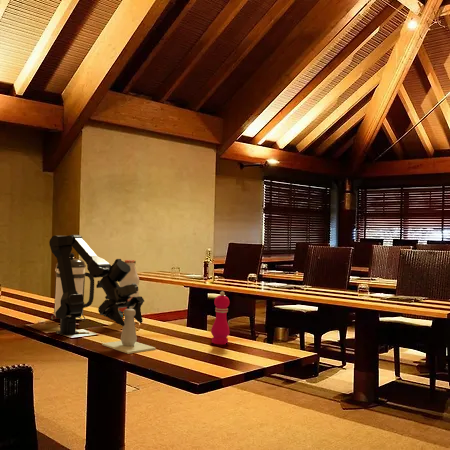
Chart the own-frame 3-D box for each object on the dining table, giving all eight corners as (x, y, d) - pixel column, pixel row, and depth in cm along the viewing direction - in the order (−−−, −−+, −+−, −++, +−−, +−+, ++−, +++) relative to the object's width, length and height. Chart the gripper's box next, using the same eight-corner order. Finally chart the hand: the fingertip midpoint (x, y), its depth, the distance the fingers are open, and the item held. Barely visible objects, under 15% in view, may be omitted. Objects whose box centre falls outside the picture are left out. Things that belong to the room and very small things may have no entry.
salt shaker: (120, 343, 197) (121, 307, 197) (135, 343, 198) (136, 307, 198) (120, 347, 191) (122, 310, 191) (137, 346, 193) (138, 310, 193)
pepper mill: (232, 342, 212) (234, 291, 212) (224, 345, 205) (227, 293, 205) (215, 340, 215) (218, 289, 215) (207, 343, 208) (210, 291, 208)
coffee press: (82, 324, 234) (86, 254, 234) (45, 321, 234) (49, 252, 234) (92, 317, 251) (96, 252, 251) (58, 315, 251) (62, 251, 252)
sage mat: (102, 344, 196) (102, 343, 196) (129, 341, 204) (129, 339, 204) (128, 353, 185) (128, 352, 185) (155, 349, 193) (155, 347, 193)
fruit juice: (135, 320, 249) (139, 259, 249) (138, 324, 240) (142, 261, 240) (115, 320, 246) (118, 259, 246) (117, 324, 237) (120, 260, 237)
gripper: (105, 277, 189) (127, 312, 183) (142, 274, 205) (162, 307, 198) (88, 297, 193) (109, 332, 187) (125, 293, 209) (145, 326, 203)
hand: (132, 323), depth 194 cm, fingers open, 9 cm apart
